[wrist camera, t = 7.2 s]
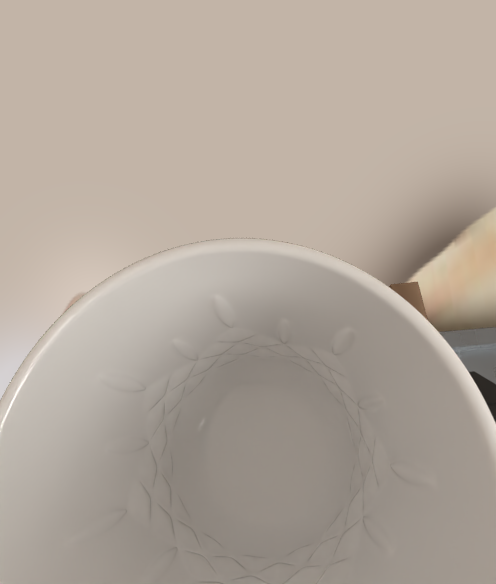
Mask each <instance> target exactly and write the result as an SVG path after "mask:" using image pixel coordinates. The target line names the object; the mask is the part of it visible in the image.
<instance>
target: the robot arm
mask: <svg viewBox="0 0 496 584" xmlns="http://www.w3.org/2000/svg"><path fill="white" fill-rule="evenodd" d="M469 373H470V375H471V377H472V378H473V380H474V382H475V383H476V385H477V387H478V389H479V390H480V392H481V394H482V396H483V398H484V400H485V402H486V404H487V406H488V408H489V410H490V412H491V414H492V416H493V418H494V421H495V423H496V384H495V383H493V382H491V381H490V380H488V379H486V378H485V377H483V376H481V375H480V374H478V373H476V372H475V371H472V372H469Z"/></svg>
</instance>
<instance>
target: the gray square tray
mask: <svg viewBox="0 0 496 584" xmlns="http://www.w3.org/2000/svg"><path fill="white" fill-rule="evenodd" d="M439 333H440V334H441V336H442V337H443V338H444V339H445V340H446V342H447V343H448V344H449V345H450V347H451V348H452V349H453V350H454V352H455V353H456V354H457V356H458V357H459V359H460V360H461V361H462V363H463V364H464V366H465V367H466V369H467V370H468V372H472V371H475V372H476V373H478V374H480V375H481V376H483V377H485V378H486V379H488V380H490V381H491V382H493V383H495V384H496V327H491V328H480V329H468V330H457V331H446V332H439Z"/></svg>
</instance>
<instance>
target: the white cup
mask: <svg viewBox="0 0 496 584" xmlns="http://www.w3.org/2000/svg"><path fill="white" fill-rule="evenodd" d="M0 584H496V423H495V421H494V418H493V416H492V414H491V412H490V410H489V408H488V406H487V404H486V402H485V400H484V398H483V396H482V394H481V392H480V390H479V389H478V387H477V385H476V383H475V382H474V380H473V378H472V377H471V375H470V373H469V372H468V370H467V369H466V367H465V366H464V364H463V363H462V361H461V360H460V359H459V357H458V356H457V354H456V353H455V352H454V350H453V349H452V348H451V347H450V345H449V344H448V343H447V342H446V340H445V339H444V338H443V337H442V336H441V334H440V333H439V332H438V331H437V330H436V329H435V328H434V327H433V325H432V324H431V323H430V322H429V321H428V320H427V319H426V318H425V317H424V316H423V315H422V314H421V313H420V312H419V311H418V310H416V309H415V308H414V307H413V306H412V305H411V304H410V303H409V302H407V301H406V300H405V299H404V298H403V297H401V296H400V295H399V294H398V293H396V292H395V291H394V290H392V289H391V288H390V287H388V286H387V285H385V284H384V283H382V282H381V281H379V280H378V279H376V278H375V277H373V276H371V275H370V274H368V273H366V272H365V271H363V270H361V269H359V268H357V267H355V266H354V265H352V264H350V263H347V262H345V261H343V260H341V259H339V258H336V257H334V256H331V255H329V254H326V253H323V252H320V251H318V250H315V249H311V248H308V247H304V246H300V245H296V244H292V243H287V242H280V241H275V240H267V239H255V238H228V239H216V240H208V241H202V242H196V243H191V244H187V245H183V246H179V247H175V248H172V249H168V250H165V251H163V252H159V253H157V254H154V255H152V256H149V257H147V258H144V259H142V260H140V261H138V262H136V263H134V264H132V265H130V266H128V267H126V268H124V269H122V270H120V271H119V272H117V273H115V274H114V275H112V276H110V277H109V278H107V279H105V280H104V281H103V282H101V283H100V284H98V285H97V286H95V287H94V288H93V289H91V290H90V291H89V292H87V293H86V294H85V295H84V296H82V297H81V298H80V299H79V300H78V301H76V302H75V303H74V304H73V305H72V306H71V307H70V308H69V309H67V310H66V311H65V312H64V313H63V314H62V315H61V316H60V317H59V318H58V319H57V320H56V321H55V322H54V324H53V325H52V326H51V327H50V328H49V329H48V330H47V331H46V333H45V334H44V335H43V336H42V337H41V338H40V340H39V341H38V342H37V343H36V345H35V346H34V347H33V349H32V350H31V351H30V353H29V354H28V355H27V357H26V358H25V360H24V361H23V363H22V364H21V366H20V367H19V369H18V370H17V372H16V373H15V375H14V377H13V378H12V380H11V382H10V384H9V385H8V387H7V389H6V391H5V393H4V395H3V396H2V398H1V400H0Z"/></svg>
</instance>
